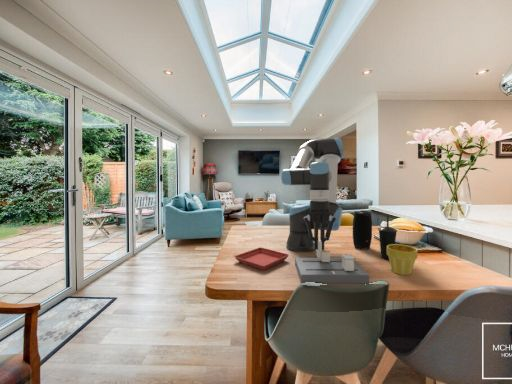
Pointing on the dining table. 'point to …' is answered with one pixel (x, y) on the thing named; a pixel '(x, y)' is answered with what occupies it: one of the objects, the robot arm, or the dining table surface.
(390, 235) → the black bottle
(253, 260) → the plant saucer
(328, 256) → the block
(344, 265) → the fader front
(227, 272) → the dining table surface
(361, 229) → the portable speaker
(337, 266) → the fader board
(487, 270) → the dining table surface
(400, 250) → the plant pot
